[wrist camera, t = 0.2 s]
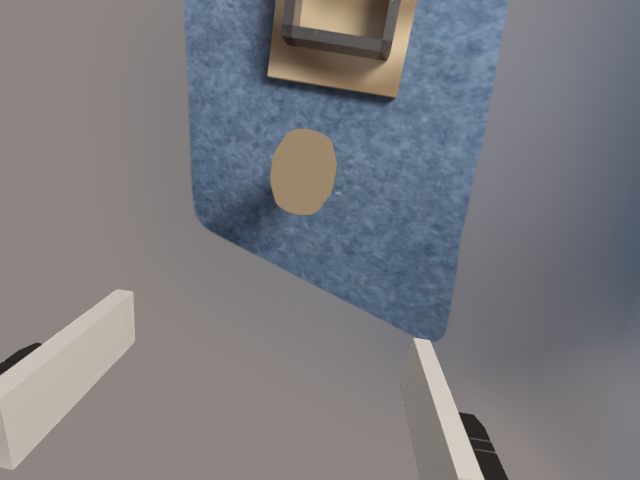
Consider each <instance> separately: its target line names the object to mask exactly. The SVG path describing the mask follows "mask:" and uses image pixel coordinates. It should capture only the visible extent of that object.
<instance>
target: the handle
mask: <svg viewBox="0 0 640 480" xmlns="http://www.w3.org/2000/svg"><path fill="white" fill-rule="evenodd" d="M336 170H337V164H336V158H335V153H334V149H333V145H332V141H331V140H330V139H329V138H328V137H326V136H325V135H324V134H322V133H320V132H317V131H314V130H310V129H296V130H292V131H290V132H288V133H287V134H286V136H285V137H284V139H283V140H282V141H281V143H280V144H279V146H278V147H277V149H276V151H275V153H274V157H273V161H272V167H271V174H270V182H271V188H272V191H273V195H274V198H275V202H276V204H277V205H278V206H279V207H281V208H282V209H283V210H285V211H287V212H290V213H293V214H298V215H309V214H313V213H316V212H317V211H318V210H319V209H320V207H321V206H322V205H323V204H324V202H325V201H326V200H327V198H328V196H329V195H330V193H331V191H332V188H333V184H334V180H335V175H336Z"/></svg>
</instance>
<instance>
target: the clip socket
mask: <svg viewBox="0 0 640 480" xmlns="http://www.w3.org/2000/svg"><path fill="white" fill-rule="evenodd" d="M302 3H303V0H285V5H284V13H283V22H282V30H281V36H282V38H283V39H284V41H285V42H286V43H287V45H291V46H297V47H303V48H309V49H316V50H322V51H328V52H334V53H340V54H346V55H352V56H358V57H365V58H371V59H377V60H383V61H387V60H388V57H389V55H390V52H391V48H392V43H393V38H394V33H395V28H396V23H397V18H398V13H399V8H400V3H401V0H389V1H388V6H387V12H386V17H385V22H384V27H383V32H382V38H381V39H375V38H369V37H363V36H357V35H350V34H344V33H338V32H332V31H326V30H319V29H313V28H307V27H301V26H300V18H301V11H302Z"/></svg>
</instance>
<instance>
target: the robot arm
mask: <svg viewBox="0 0 640 480" xmlns="http://www.w3.org/2000/svg"><path fill="white" fill-rule="evenodd" d="M134 342H135V328H134V301H133V292H131V291H125V290H119V289H117V290H115V291H114V292H113V293H111V294H110V295H108V296H107V297H106V298H104V299H103V300H102V301H100V302H99V303H98V304H96V305H95V306H94V307H92V308H91V309H90V310H88V311H87V312H86V313H84V314H83V315H82V316H80V317H79V318H77V319H76V320H75V321H73V322H72V323H71V324H69V325H68V326H67V327H65V328H64V329H63V330H61V331H60V332H59V333H57V334H56V335H55V336H53V337H52V338H50V339H49V340H48V341H46V342H45V343H44V344H41V343H35V344H32V345H30V346H28V347H26V348H23V349H21V350H19V351H17V352H16V353H14V354H13V355H12V356H10V357H9V358H7V359H6V360H5V362H2V363H0V468H6V469H14V468H15V467H16V466H17V465H18V464H19V463H20V462H21V461H22V460H23V459H24V458H25V457H26V456H27V455H28V454H29V453H30V452H31V451H32V450H33V448H34V447H35V446H36V445H37V444H38V443H39V442H40V441H41V440H42V439H43V438H44V437H45V436H46V435H47V433H49V431H51V429H52V428H53V427H54V426H55V425H56V424H57V423H58V422H59V421H60V420H61V419H62V418H63V417H64V416H65V415H66V413H68V412H69V410H70V409H71V408H72V407H73V406H74V405H75V404H76V403H77V402H78V401H79V400H80V399H81V398H82V397H83V396H84V395H85V394H86V393H87V392H88V390H89V389H90V388H91V387H92V386H93V385H94V384H95V383H96V382H97V381H98V380H99V379H100V378H101V377H102V376H103V375H104V374H105V373H106V372H107V370H108V369H109V368H110V367H111V366H112V365H113V364H114V363H115V362H116V361H117V360H118V359H119V358H120V357H121V356H122V355H123V354H124V353H125V351H126V350H127V349H128V348H129V347H130V346H131V345H132V344H133V343H134ZM400 387H401V392H402V396H403V401H404V406H405V411H406V415H407V420H408V425H409V430H410V434H411V439H412V443H413V449H414V453H415V458H416V463H417V467H418V472H419V477H420V480H508V478H507V476H506V474H505V471H504V469H503V467H502V465H501V463H500V460H499V458H498V456H497V454H495V450H494V447H493V445H492V443H490V439H489V436H488V434H487V432H486V430H485V428H484V426H483V425H482V424H481V423H480V422H479V421H478V419H477V418H476V417H475V416H474V415H472V414H466V413H460V412H458V411H457V408H456V406H455V403H454V401H453V398H452V395H451V393H450V390H449V388H448V386H447V383H446V380H445V378H444V375H443V372H442V370H441V367H440V365H439V362H438V360H437V357H436V355H435V352H434V349H433V347H432V344H431V342H430V340H424V339H418V338H413V341H412V345H411V348H410V352H409V356H408V359H407V363H406V366H405V370H404V374H403V377H402V381H401V384H400Z"/></svg>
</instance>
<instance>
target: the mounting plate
mask: <svg viewBox="0 0 640 480" xmlns="http://www.w3.org/2000/svg"><path fill="white" fill-rule="evenodd" d="M388 1H389V0H303V3H302V11H301V18H300V26H301V27H307V28H313V29H319V30H326V31H332V32H338V33H344V34H350V35H357V36H363V37H369V38H375V39H381V38H382V32H383V27H384V22H385V17H386V12H387V6H388ZM416 3H417V0H401V3H400V8H399V13H398V18H397V23H396V28H395V33H394V38H393V43H392V48H391V52H390V55H389V57H388V60H387V61H383V60H377V59H371V58H365V57H358V56H352V55H346V54H340V53H334V52H328V51H322V50H316V49H309V48H303V47H297V46H291V45H287V43H286V42H285V41H284V39H283V38H282V36H281V30H282V22H283V13H284V5H285V0H276V3H275V12H274V21H273V30H272V39H271V48H270V57H269V66H268V75H267V76H268V77H270V78H275V79H281V80H287V81H293V82H299V83H305V84H311V85H317V86H323V87H329V88H335V89H341V90H347V91H353V92H359V93H365V94H371V95H377V96H383V97H389V98H396V97H397V92H398V88H399V83H400V78H401V74H402V69H403V64H404V60H405V55H406V50H407V46H408V41H409V36H410V32H411V27H412V22H413V17H414V13H415V8H416Z"/></svg>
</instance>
